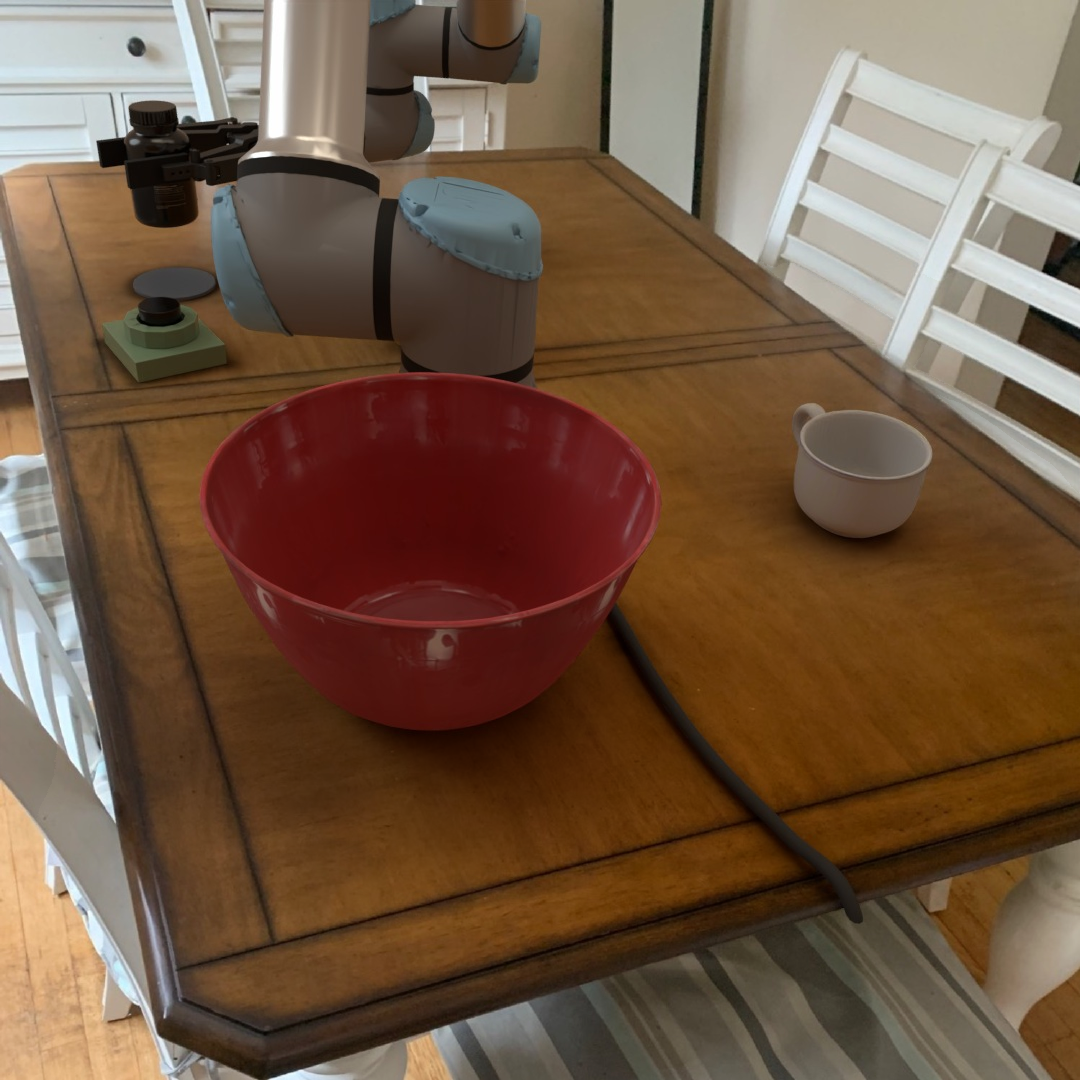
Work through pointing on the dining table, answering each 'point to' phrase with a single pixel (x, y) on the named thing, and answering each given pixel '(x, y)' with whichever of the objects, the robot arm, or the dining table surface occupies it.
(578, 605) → the mixing bowl
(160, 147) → the supplement bottle
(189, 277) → the coaster
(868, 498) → the teacup
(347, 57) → the robot arm
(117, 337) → the button box
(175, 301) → the button
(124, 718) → the dining table surface
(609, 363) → the dining table surface
